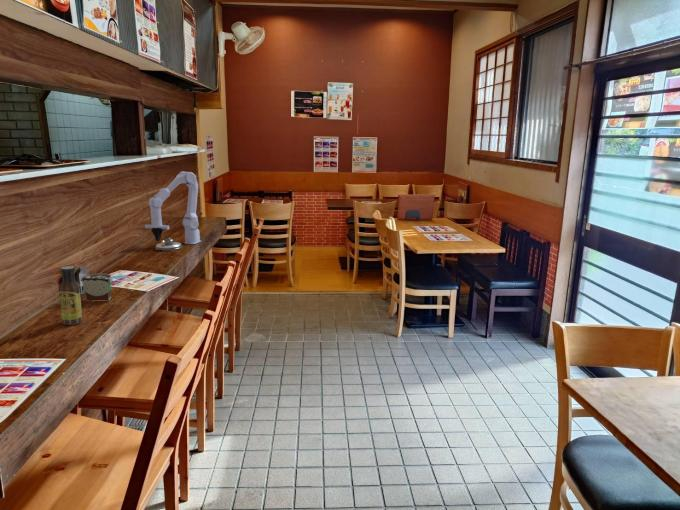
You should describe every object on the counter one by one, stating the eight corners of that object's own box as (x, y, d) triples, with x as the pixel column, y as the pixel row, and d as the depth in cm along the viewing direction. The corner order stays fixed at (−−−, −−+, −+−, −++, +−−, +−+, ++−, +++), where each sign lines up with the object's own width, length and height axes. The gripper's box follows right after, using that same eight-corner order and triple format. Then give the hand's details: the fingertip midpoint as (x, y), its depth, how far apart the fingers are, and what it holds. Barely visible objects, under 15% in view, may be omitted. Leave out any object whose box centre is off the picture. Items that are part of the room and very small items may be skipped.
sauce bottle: (58, 325, 162) (51, 269, 158) (68, 319, 169) (62, 264, 164) (77, 326, 162) (70, 269, 158) (86, 319, 169) (80, 265, 164)
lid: (167, 243, 285) (166, 237, 284) (175, 243, 284) (174, 237, 283) (162, 245, 280) (162, 238, 279) (170, 245, 279) (170, 239, 278)
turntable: (164, 243, 290) (163, 235, 289) (185, 244, 288) (185, 237, 287) (151, 248, 277) (150, 240, 276) (173, 249, 275) (173, 241, 274)
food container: (121, 297, 193) (118, 273, 191) (112, 302, 187) (110, 277, 185) (92, 296, 194) (89, 272, 192) (82, 300, 188) (80, 276, 186)
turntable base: (164, 245, 291) (163, 243, 291) (186, 246, 289) (186, 244, 289) (150, 250, 277) (150, 248, 277) (174, 251, 274) (174, 250, 274)
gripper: (141, 218, 277) (143, 241, 280) (164, 219, 275) (165, 242, 278) (148, 216, 284) (149, 239, 287) (170, 217, 282) (172, 240, 285)
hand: (158, 240), depth 283 cm, fingers closed
